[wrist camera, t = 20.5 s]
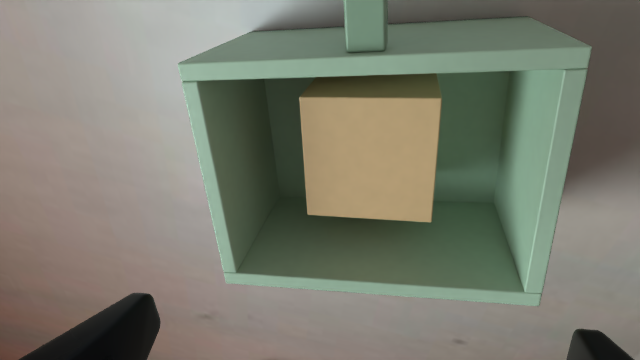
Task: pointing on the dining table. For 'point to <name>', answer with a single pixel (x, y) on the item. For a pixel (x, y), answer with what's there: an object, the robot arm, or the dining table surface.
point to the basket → (452, 160)
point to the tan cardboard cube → (371, 145)
